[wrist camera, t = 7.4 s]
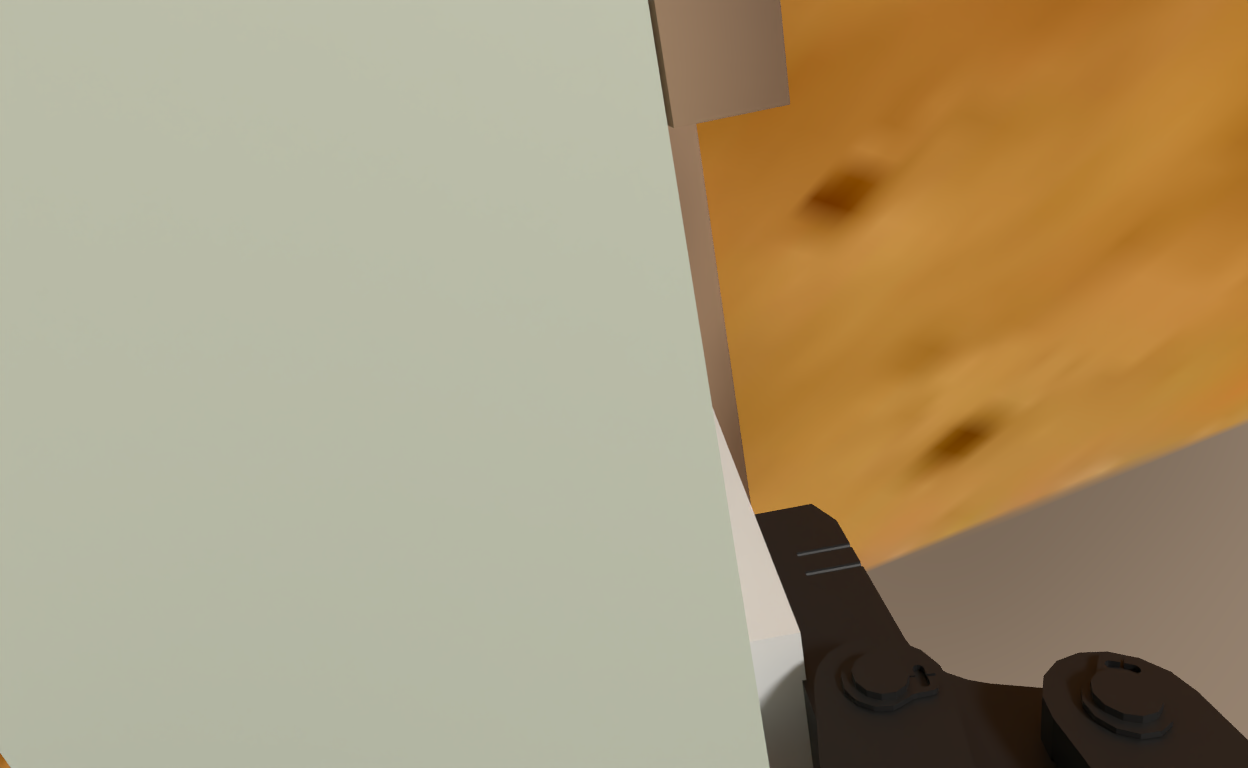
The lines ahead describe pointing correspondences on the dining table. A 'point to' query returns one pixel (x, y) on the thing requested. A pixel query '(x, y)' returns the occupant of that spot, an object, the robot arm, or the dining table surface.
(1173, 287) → the dining table surface
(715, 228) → the dining table surface
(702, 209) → the u-shaped post stand
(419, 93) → the cream rectangular block
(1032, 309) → the dining table surface
